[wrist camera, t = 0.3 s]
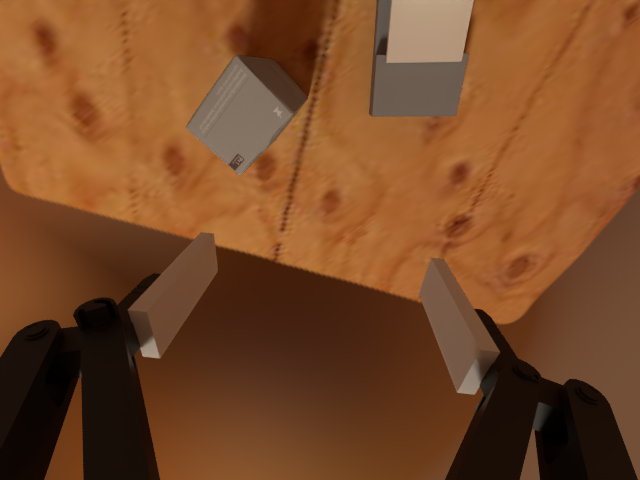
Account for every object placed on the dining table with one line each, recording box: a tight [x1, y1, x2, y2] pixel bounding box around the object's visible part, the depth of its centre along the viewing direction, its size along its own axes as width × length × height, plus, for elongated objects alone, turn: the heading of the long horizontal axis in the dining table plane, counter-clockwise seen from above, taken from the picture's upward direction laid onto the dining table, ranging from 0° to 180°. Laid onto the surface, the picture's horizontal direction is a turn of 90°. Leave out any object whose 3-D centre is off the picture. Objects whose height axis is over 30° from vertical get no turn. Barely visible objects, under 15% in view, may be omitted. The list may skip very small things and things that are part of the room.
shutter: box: [386, 0, 474, 63], centre depth 27 cm, size 7×8×4 cm
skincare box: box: [186, 55, 308, 175], centre depth 31 cm, size 8×7×16 cm
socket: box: [369, 0, 469, 117], centre depth 32 cm, size 14×10×4 cm
